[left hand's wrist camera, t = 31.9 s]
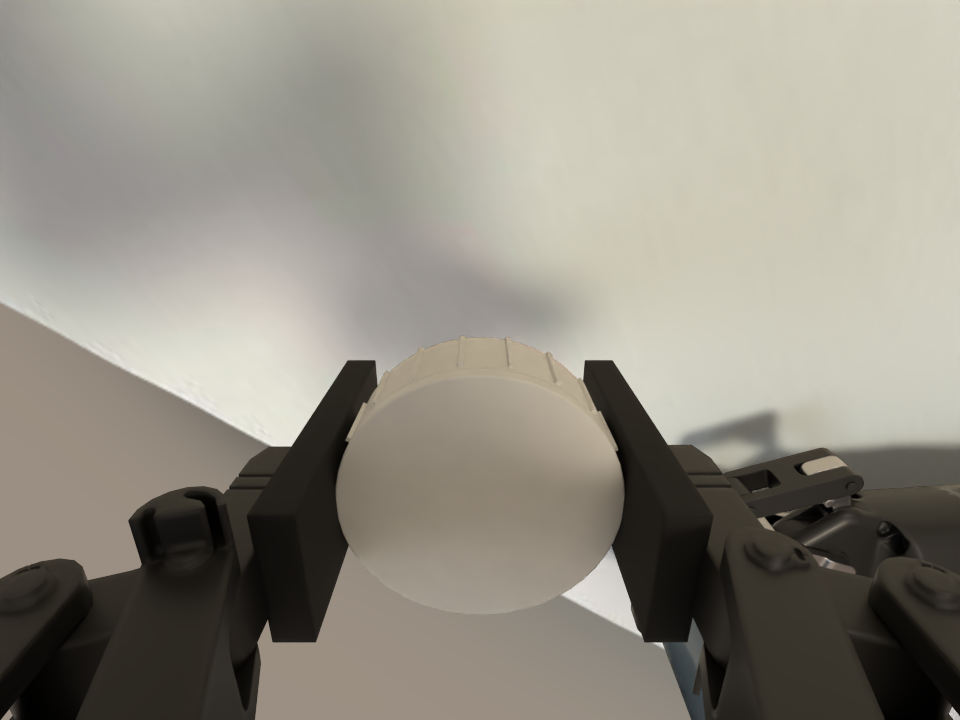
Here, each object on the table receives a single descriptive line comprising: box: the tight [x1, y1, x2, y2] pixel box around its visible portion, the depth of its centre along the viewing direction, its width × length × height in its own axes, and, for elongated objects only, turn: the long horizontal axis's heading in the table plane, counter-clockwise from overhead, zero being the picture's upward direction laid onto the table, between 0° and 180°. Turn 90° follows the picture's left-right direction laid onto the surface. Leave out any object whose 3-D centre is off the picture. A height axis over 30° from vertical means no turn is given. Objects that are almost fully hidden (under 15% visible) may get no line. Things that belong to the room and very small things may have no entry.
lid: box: [336, 336, 625, 615], centre depth 11 cm, size 6×6×2 cm
